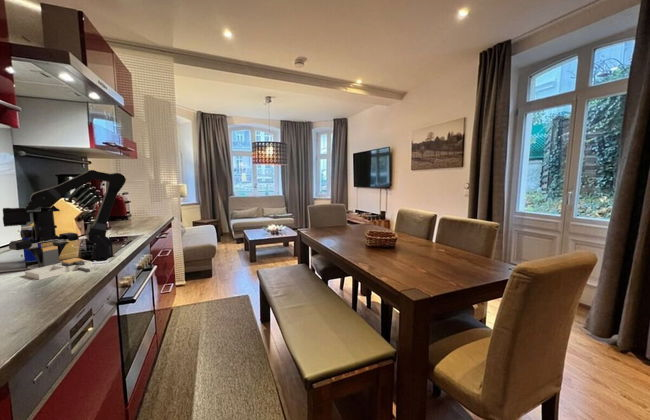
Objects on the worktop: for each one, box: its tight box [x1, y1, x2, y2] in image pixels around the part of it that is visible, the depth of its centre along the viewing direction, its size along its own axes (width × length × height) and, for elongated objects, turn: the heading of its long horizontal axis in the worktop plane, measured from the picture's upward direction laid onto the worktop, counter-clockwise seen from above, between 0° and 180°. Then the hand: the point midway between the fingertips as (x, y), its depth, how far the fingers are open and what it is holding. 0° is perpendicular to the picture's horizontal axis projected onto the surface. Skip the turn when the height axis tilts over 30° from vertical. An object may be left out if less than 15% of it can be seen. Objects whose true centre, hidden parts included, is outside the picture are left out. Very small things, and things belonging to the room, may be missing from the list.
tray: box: [26, 259, 62, 270], centre depth 107 cm, size 9×9×1 cm
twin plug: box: [60, 257, 91, 273], centre depth 105 cm, size 4×12×4 cm, turn 69°
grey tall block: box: [37, 244, 60, 268], centre depth 107 cm, size 4×4×8 cm
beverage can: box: [20, 225, 42, 263], centre depth 114 cm, size 5×5×15 cm
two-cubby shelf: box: [24, 259, 93, 280], centre depth 103 cm, size 16×9×2 cm, turn 160°
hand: (48, 261), depth 107 cm, fingers closed on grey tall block, 4 cm apart
